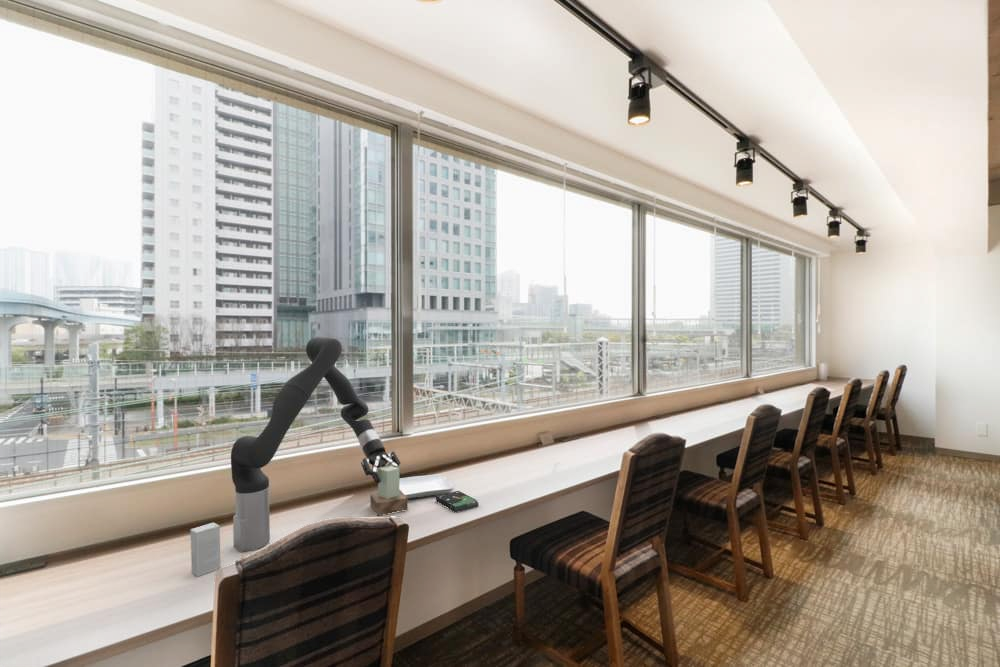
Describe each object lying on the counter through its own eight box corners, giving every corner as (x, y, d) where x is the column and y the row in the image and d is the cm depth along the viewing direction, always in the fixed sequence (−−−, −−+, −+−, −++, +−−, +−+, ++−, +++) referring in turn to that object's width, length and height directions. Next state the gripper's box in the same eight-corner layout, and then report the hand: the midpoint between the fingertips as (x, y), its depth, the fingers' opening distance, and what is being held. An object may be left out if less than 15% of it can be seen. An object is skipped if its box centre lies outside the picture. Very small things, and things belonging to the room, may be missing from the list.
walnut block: (377, 517, 167) (377, 503, 167) (370, 507, 177) (370, 494, 177) (407, 511, 172) (407, 497, 172) (399, 502, 182) (399, 489, 182)
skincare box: (215, 564, 133) (214, 521, 133) (221, 568, 131) (220, 525, 131) (190, 572, 129) (189, 528, 129) (196, 577, 126) (195, 532, 126)
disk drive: (435, 503, 181) (455, 514, 169) (435, 495, 181) (455, 506, 169) (458, 497, 187) (479, 507, 175) (458, 490, 187) (479, 500, 175)
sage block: (387, 499, 171) (387, 471, 171) (377, 495, 174) (378, 468, 174) (399, 495, 175) (399, 468, 175) (390, 492, 178) (390, 465, 179)
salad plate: (454, 495, 188) (454, 487, 188) (401, 503, 180) (401, 494, 180) (441, 480, 208) (441, 472, 208) (393, 487, 200) (392, 478, 200)
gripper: (358, 441, 175) (376, 478, 167) (390, 435, 185) (409, 469, 178) (351, 453, 178) (368, 490, 171) (383, 446, 189) (400, 480, 181)
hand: (389, 479), depth 174 cm, fingers open, 8 cm apart
